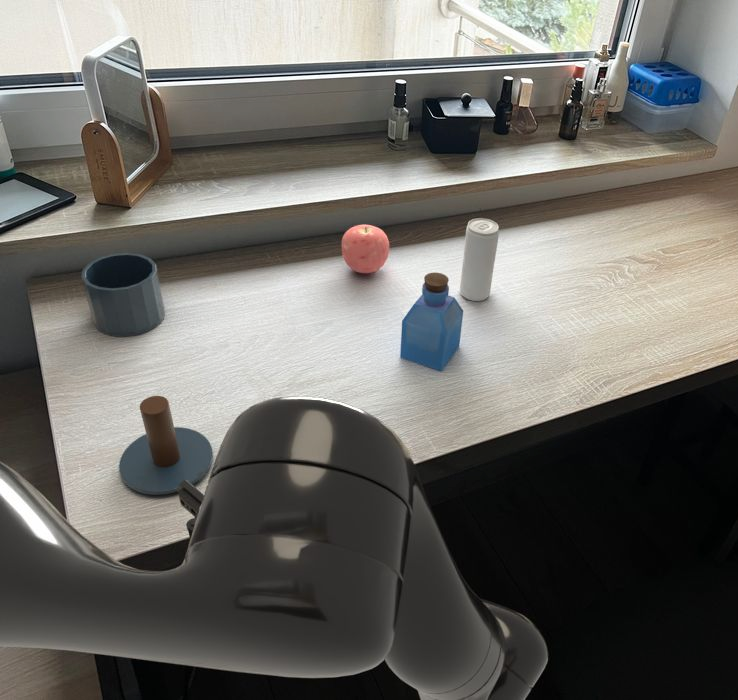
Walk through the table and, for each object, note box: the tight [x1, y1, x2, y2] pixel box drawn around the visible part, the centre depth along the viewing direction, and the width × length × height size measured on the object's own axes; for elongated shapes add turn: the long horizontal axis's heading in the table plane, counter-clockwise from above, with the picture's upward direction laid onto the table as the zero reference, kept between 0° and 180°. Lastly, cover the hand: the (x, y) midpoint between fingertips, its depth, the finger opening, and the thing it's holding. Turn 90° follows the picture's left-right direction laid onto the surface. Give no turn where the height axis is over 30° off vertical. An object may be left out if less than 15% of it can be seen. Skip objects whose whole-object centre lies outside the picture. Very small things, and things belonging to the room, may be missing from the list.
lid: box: [118, 395, 214, 496], centre depth 77 cm, size 10×10×9 cm
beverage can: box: [459, 217, 500, 302], centre depth 109 cm, size 5×5×12 cm
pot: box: [81, 252, 166, 338], centre depth 97 cm, size 9×9×8 cm
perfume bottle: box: [399, 272, 464, 372], centre depth 97 cm, size 6×6×12 cm
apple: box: [341, 224, 390, 274], centre depth 112 cm, size 7×7×8 cm
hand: (220, 463), depth 71 cm, fingers open, 8 cm apart
